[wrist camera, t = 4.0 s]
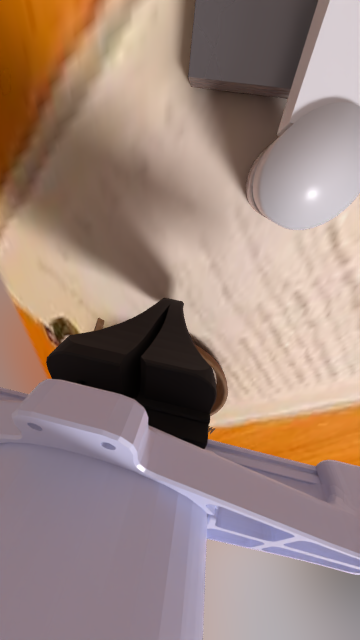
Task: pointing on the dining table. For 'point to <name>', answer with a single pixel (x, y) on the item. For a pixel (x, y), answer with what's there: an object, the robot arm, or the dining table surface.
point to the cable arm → (317, 127)
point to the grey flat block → (249, 49)
